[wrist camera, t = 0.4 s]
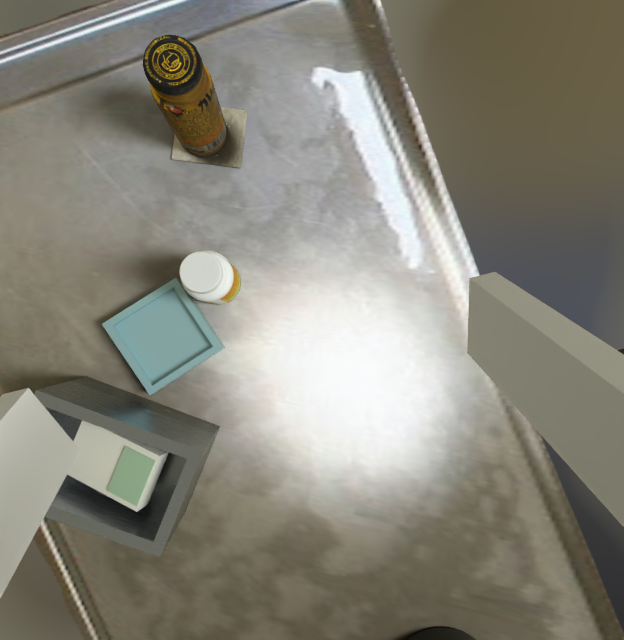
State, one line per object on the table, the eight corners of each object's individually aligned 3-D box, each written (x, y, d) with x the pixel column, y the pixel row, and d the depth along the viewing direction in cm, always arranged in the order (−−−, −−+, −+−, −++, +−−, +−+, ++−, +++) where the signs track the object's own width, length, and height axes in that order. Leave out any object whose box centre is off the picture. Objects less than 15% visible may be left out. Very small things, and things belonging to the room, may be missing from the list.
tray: (224, 347, 43) (222, 348, 42) (154, 392, 43) (149, 395, 41) (179, 279, 43) (175, 277, 41) (108, 324, 42) (101, 324, 41)
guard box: (219, 426, 43) (203, 451, 35) (185, 511, 43) (160, 557, 34) (86, 376, 42) (35, 389, 34) (50, 462, 42) (-11, 498, 33)
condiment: (178, 101, 43) (136, 17, 31) (247, 111, 44) (232, 32, 32) (172, 160, 43) (127, 97, 31) (241, 169, 44) (224, 111, 32)
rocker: (170, 447, 38) (160, 453, 36) (146, 507, 37) (134, 516, 35) (97, 411, 39) (83, 414, 37) (73, 469, 39) (57, 475, 37)
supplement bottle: (235, 256, 44) (220, 237, 34) (246, 298, 44) (235, 291, 34) (192, 267, 43) (164, 251, 34) (204, 309, 43) (179, 306, 34)
